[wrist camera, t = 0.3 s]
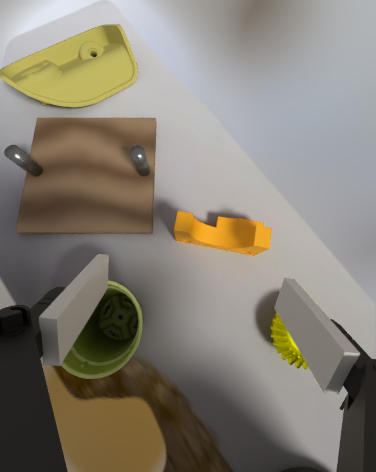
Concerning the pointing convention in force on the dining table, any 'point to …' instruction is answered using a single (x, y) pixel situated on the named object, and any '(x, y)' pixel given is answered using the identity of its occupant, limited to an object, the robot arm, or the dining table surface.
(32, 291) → the dining table surface
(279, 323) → the gear
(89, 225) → the base plate
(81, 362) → the plant pot
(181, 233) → the pipe clamp
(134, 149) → the locating stubs
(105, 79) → the plastic component
